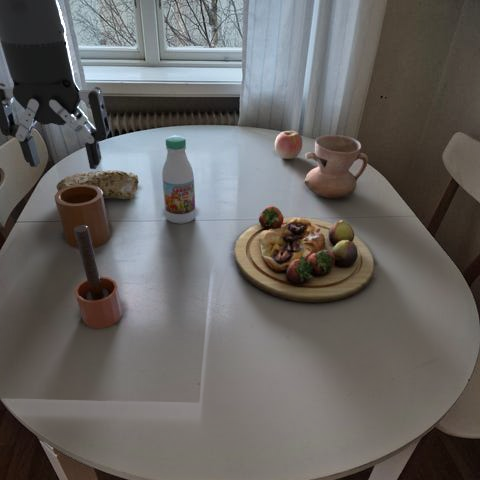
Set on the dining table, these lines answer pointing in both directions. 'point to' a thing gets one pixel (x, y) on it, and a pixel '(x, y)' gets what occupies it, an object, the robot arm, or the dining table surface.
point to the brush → (89, 264)
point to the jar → (83, 213)
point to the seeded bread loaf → (105, 183)
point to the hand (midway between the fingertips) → (65, 165)
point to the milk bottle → (178, 182)
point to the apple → (288, 144)
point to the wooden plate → (303, 258)
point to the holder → (100, 304)
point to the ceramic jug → (334, 166)
